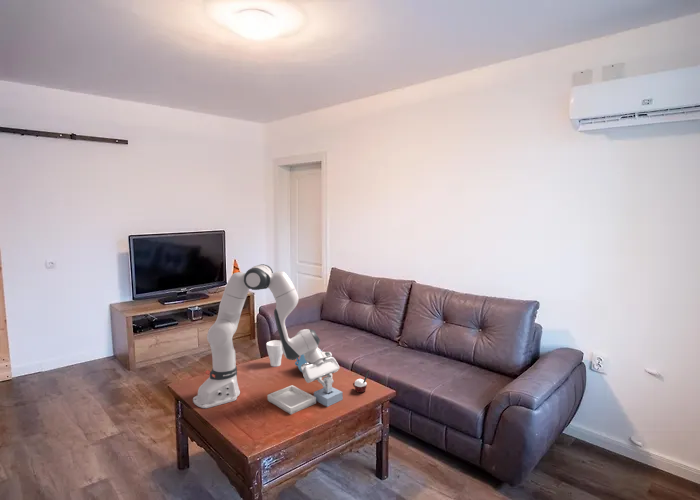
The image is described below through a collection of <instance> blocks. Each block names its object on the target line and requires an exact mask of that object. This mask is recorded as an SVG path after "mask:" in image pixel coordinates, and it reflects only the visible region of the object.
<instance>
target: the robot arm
mask: <svg viewBox="0 0 700 500" xmlns="http://www.w3.org/2000/svg"><path fill="white" fill-rule="evenodd" d="M267 289H269V290H270V292H271V293H272V296H273V298H274V300H275V305H276V306H275V309H274V310H273V316H274V320H275V324H276V329H277V331H278V335H279V340H280V341H281V343H282V351H283V354H282V355H284V357H285V359H287V360H290V361H295V360H296V359H297V358H298V359H299V358H300V356H301V355H303V354H304V357H305V360H306V362H307V363H305V364H302V366H301V371H302V372H301V371H300V372H301V373H302V375H303V379H304V381H305V382H306V383H307V384H309V383H311V382H315V381H317V382H318V383H319V384H321V385H322V388H324V386H326V385H327V383H326V381H325V382H324V381H323V378H325V377H327V376H329V377H331V378H332V384H334V379H333V374H335V373H337V372H338V371H339V370H340V365H339V363H338V362H337V360H336V358H335V357H334V356H333V354H332V352H331V351H322V349H320V348H319V345H320V342H321V339H320V337H319V336H318V333H316V330H315V329H312V328H311V329H310V328H308V329H307V328H306V329H300V330H299V331H298V332H297V333H296V334H295V336H292V337H291V338H290V337H289V335H288V330H287V327H286V320H287V318H288V316H290V314H291V313H292V312H293V311H294V310H295V309H296V307H297V305H298V304H299V300H300V298H299V294H298V291H297V289H296V286H295V284H294V283H293V281H292V280H291V278H290V277H289V275H288V274H287V273H286V272H285V271H283V270H281V271H280V270H278V271H276V272H273V269H272V268H271V267H270V266H269V265H267V264H258V265H253V267H251V268H249V269H248V270H247V271H246V272H245V273H244V272H241V271H239V272H234V273H233V274H231V276H230V277H229V279H228V282H227V283H226V285H225V288H224V290H223V293H222V296H221V300H220V302H219V306H218V313H217V317H216V320H215V321H214V323H213V324H212V325H211V326H210V328H209V329H208V331H207V334H206V335H207V336H206V338H207V339H206V340H207V342H208V344H209V346H210V351H211V356H212V361H211V362H212V369H211V371H210V370H209V369H207V370H206V371H204V372H205V374H206V375H209V377H208V378H207V379H206V380H205V381H204V382H203V383H202V384H201V385H200V386H199V387H198V390H197V395H196V396H194V397H193V398H192V403H193V404H194V405H196V406H197V407H199V408H201V409H209V408H213V407H217V406H220V405H223V404H227V403H231V402H234V401H237V398H238V396H240V394H241V391H240V387H239V383H238V378H237V377H238V369H237V368H238V367H237V365H236V364H237V363H236V361H237V357H236V350H235V348H234V343H233V336H234V335H235V333H236V332H237V330H238V326H239V322H240V319H241V315H242V311H243V308H244V305H245V303H246V300H247V297H248V293H249V291H250V290H251V291H259V290H260V291H261V290H267ZM321 351H322V352H321Z"/></svg>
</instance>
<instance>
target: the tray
mask: <svg viewBox="0 0 700 500" xmlns="http://www.w3.org/2000/svg"><path fill="white" fill-rule="evenodd" d="M266 397H267V401H268V402H269V403H271V404H273V405H274V406H276V407H278V408H279V409H281V410H283V411H284V412H286V413H288V414H289V415H293V414H296V413H297V412H300V411H302V410H304V409H307V408H309V407H311V406H314V405H315V404H317V401H316V397H314V395H312V394H310V393H309V392H307V391H304V390H303V389H301V388H299V387H297V386H295V385H293V384H292V385H289V386H286V387H284V388H281V389H278V390H276V391H274V392H271V393H269V394H267V395H266Z"/></svg>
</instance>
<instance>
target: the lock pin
mask: <svg viewBox="0 0 700 500" xmlns="http://www.w3.org/2000/svg"><path fill="white" fill-rule="evenodd" d="M332 379H333V377H332V378H331V377H329V376H325V377H322V380H323V381H324V382H325V381H326V383H327V385H326V386H324V387H323V388H324V393H325V394H330V393H332V387H333V383H332Z"/></svg>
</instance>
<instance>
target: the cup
mask: <svg viewBox="0 0 700 500" xmlns="http://www.w3.org/2000/svg"><path fill="white" fill-rule="evenodd" d="M265 345H266V350H267V355H268V357H269V363H270V366H271V367H273V368H274V367H275V368H276V367H280V366H281V365H282V358H283V355H284V354H283V351H282V343H281V339H279V340H277V339H274V340H270V341H267V342H266V344H265Z"/></svg>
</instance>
